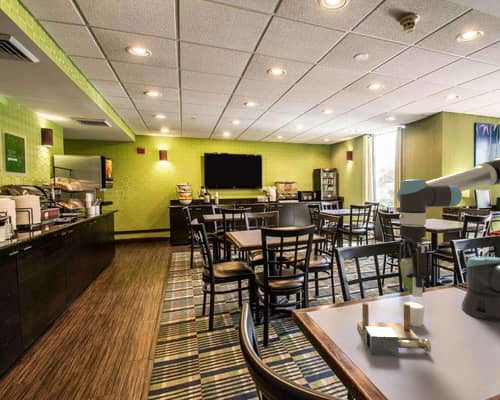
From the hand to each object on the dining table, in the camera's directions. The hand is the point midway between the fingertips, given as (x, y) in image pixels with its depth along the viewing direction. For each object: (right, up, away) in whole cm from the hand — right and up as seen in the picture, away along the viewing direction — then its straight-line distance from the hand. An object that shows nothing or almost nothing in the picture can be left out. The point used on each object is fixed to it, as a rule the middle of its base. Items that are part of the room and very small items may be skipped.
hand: (411, 292), depth 90 cm
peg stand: (-7, -17, +4) cm, 18 cm away
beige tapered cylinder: (+8, -16, +12) cm, 22 cm away
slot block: (-13, -17, -5) cm, 22 cm away
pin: (-4, -16, -6) cm, 18 cm away
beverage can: (0, -1, 0) cm, 1 cm away
